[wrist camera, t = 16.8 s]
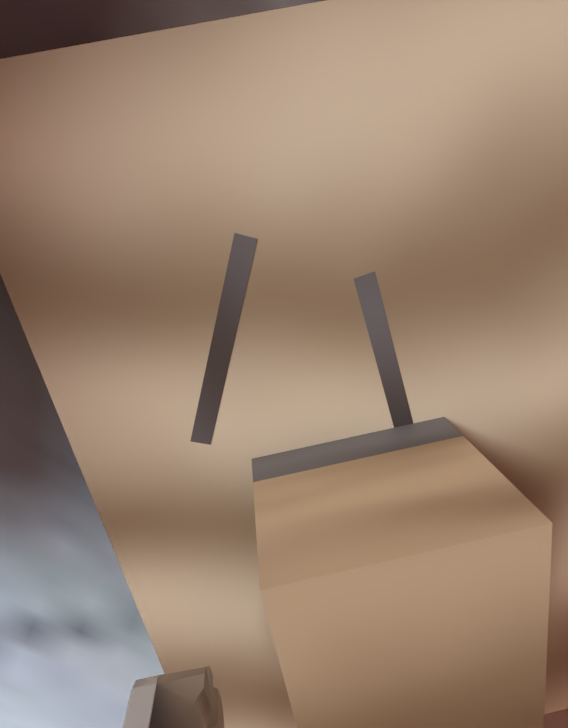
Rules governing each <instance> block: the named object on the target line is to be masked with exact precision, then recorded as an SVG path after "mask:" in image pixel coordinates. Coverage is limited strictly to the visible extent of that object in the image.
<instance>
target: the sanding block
mask: <svg viewBox="0 0 568 728" xmlns="http://www.w3.org/2000/svg"><path fill="white" fill-rule="evenodd" d="M252 474H253V490H254V506H255V522H256V538H257V554H258V570H259V586H260V593H261V597H262V601H263V604H264V608H265V612H266V615H267V619H268V623H269V626H270V630H271V634H272V637H273V641H274V645H275V648H276V652H277V656H278V660H279V663H280V667H281V671H282V674H283V678H284V682H285V685H286V689H287V693H288V696H289V700H290V704H291V707H292V711H293V715H294V718H295V722H296V726H297V728H544V710H545V687H546V663H547V640H548V617H549V594H550V571H551V547H552V524H553V523H552V522H551V521H550V520H549V519H548V518H547V517H546V516H545V515H544V514H543V513H542V512H541V511H540V510H539V509H538V508H537V507H536V506H534V505H533V504H532V503H531V502H530V501H529V500H528V499H527V498H526V497H525V496H524V495H523V494H522V493H521V492H520V491H519V490H518V489H517V488H516V487H515V486H514V485H513V484H512V483H511V482H510V481H509V480H508V479H507V478H506V477H505V476H504V475H503V474H502V473H501V472H500V471H499V470H498V469H497V468H496V467H495V466H494V465H493V464H492V463H491V462H489V461H488V460H487V459H486V458H485V457H484V456H483V455H482V454H481V453H480V452H479V451H478V450H477V449H476V448H475V447H474V446H473V445H472V444H471V443H470V442H469V441H468V440H467V439H466V438H465V437H464V436H463V435H462V434H461V433H460V432H459V431H458V430H457V429H456V428H455V427H454V426H453V425H452V424H451V423H450V422H449V421H448V420H447V419H446V418H445V417H441V418H436V419H432V420H427V421H422V422H418V423H413V424H409V425H404V426H399V427H395V428H390V429H386V430H381V431H377V432H372V433H367V434H363V435H358V436H354V437H349V438H345V439H340V440H335V441H331V442H326V443H322V444H317V445H313V446H308V447H303V448H299V449H294V450H290V451H285V452H281V453H276V454H271V455H267V456H262V457H258V458H253V459H252Z"/></svg>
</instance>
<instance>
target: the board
mask: <svg viewBox="0 0 568 728" xmlns="http://www.w3.org/2000/svg"><path fill="white" fill-rule="evenodd" d="M0 275H1V277H2V279H3V282H4V284H5V287H6V289H7V292H8V294H9V296H10V299H11V301H12V304H13V306H14V309H15V311H16V313H17V316H18V318H19V321H20V323H21V326H22V328H23V330H24V333H25V335H26V338H27V340H28V343H29V345H30V347H31V350H32V352H33V355H34V357H35V360H36V362H37V364H38V367H39V369H40V372H41V374H42V377H43V379H44V381H45V384H46V386H47V389H48V391H49V394H50V396H51V398H52V401H53V403H54V406H55V408H56V411H57V413H58V415H59V418H60V420H61V423H62V425H63V428H64V430H65V432H66V435H67V437H68V440H69V442H70V445H71V447H72V449H73V452H74V454H75V457H76V459H77V462H78V464H79V466H80V469H81V471H82V474H83V476H84V479H85V481H86V483H87V486H88V488H89V491H90V493H91V496H92V498H93V500H94V503H95V505H96V508H97V510H98V513H99V515H100V517H101V520H102V522H103V525H104V527H105V530H106V532H107V534H108V537H109V539H110V542H111V544H112V547H113V549H114V551H115V554H116V556H117V559H118V561H119V564H120V566H121V568H122V571H123V573H124V576H125V578H126V581H127V583H128V585H129V588H130V590H131V593H132V595H133V598H134V600H135V602H136V605H137V607H138V610H139V612H140V615H141V617H142V619H143V622H144V624H145V627H146V629H147V632H148V634H149V636H150V639H151V641H152V644H153V646H154V649H155V651H156V653H157V656H158V658H159V661H160V663H161V666H162V668H163V670H164V673H165V674H169V673H173V672H178V671H183V670H188V669H193V668H198V667H203V666H208V665H209V666H210V668H211V671H212V673H213V687H215V688H217V689H218V690H219V693H220V696H221V701H222V706H223V715H224V728H297V726H296V722H295V718H294V715H293V711H292V707H291V704H290V700H289V696H288V693H287V689H286V685H285V682H284V678H283V674H282V671H281V667H280V663H279V660H278V656H277V652H276V648H275V645H274V641H273V637H272V634H271V630H270V626H269V623H268V619H267V615H266V612H265V608H264V604H263V601H262V597H261V593H260V586H259V570H258V554H257V538H256V522H255V506H254V490H253V474H252V459H253V458H258V457H262V456H267V455H271V454H276V453H281V452H285V451H290V450H294V449H299V448H303V447H308V446H313V445H317V444H322V443H326V442H331V441H335V440H340V439H345V438H349V437H354V436H358V435H363V434H367V433H372V432H377V431H381V430H386V429H390V428H395V427H399V426H404V425H409V424H413V423H418V422H422V421H427V420H432V419H436V418H441V417H445V418H446V419H447V420H448V421H449V422H450V423H451V424H452V425H453V426H454V427H455V428H456V429H457V430H458V431H459V432H460V433H461V434H462V435H463V436H464V437H465V438H466V439H467V440H468V441H469V442H470V443H471V444H472V445H473V446H474V447H475V448H476V449H477V450H478V451H479V452H480V453H481V454H482V455H483V456H484V457H485V458H486V459H487V460H488V461H489V462H491V463H492V464H493V465H494V466H495V467H496V468H497V469H498V470H499V471H500V472H501V473H502V474H503V475H504V476H505V477H506V478H507V479H508V480H509V481H510V482H511V483H512V484H513V485H514V486H515V487H516V488H517V489H518V490H519V491H520V492H521V493H522V494H523V495H524V496H525V497H526V498H527V499H528V500H529V501H530V502H531V503H532V504H533V505H534V506H536V507H537V508H538V509H539V510H540V511H541V512H542V513H543V514H544V515H545V516H546V517H547V518H548V519H549V520H550V521H551V522H552V523H553V524H552V547H551V571H550V594H549V617H548V640H547V663H546V687H545V710H544V714H548V713H552V712H556V711H560V710H564V709H568V0H326V1H321V2H315V3H310V4H304V5H299V6H293V7H287V8H282V9H276V10H271V11H265V12H260V13H254V14H248V15H243V16H237V17H232V18H226V19H221V20H215V21H209V22H204V23H198V24H193V25H187V26H182V27H176V28H170V29H165V30H159V31H154V32H148V33H143V34H137V35H131V36H126V37H120V38H115V39H109V40H104V41H98V42H92V43H87V44H81V45H76V46H70V47H65V48H59V49H53V50H48V51H42V52H37V53H31V54H26V55H20V56H14V57H9V58H3V59H0Z"/></svg>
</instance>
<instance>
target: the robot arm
mask: <svg viewBox="0 0 568 728" xmlns="http://www.w3.org/2000/svg"><path fill="white" fill-rule="evenodd" d="M123 728H224V715H223V706H222V701H221V696H220V693H219V690H218V689H217V688H215V687H213V673H212V671H211V668H210V666H209V665H208V666H203V667H198V668H193V669H188V670H183V671H178V672H173V673H169V674H164V675H157V676H153V677H149V678H144V679H140V680H136V681H135V683H134V686H133V688H132V690H131V693H130V698H129V702H128V707H127V711H126V716H125V720H124V725H123Z"/></svg>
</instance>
